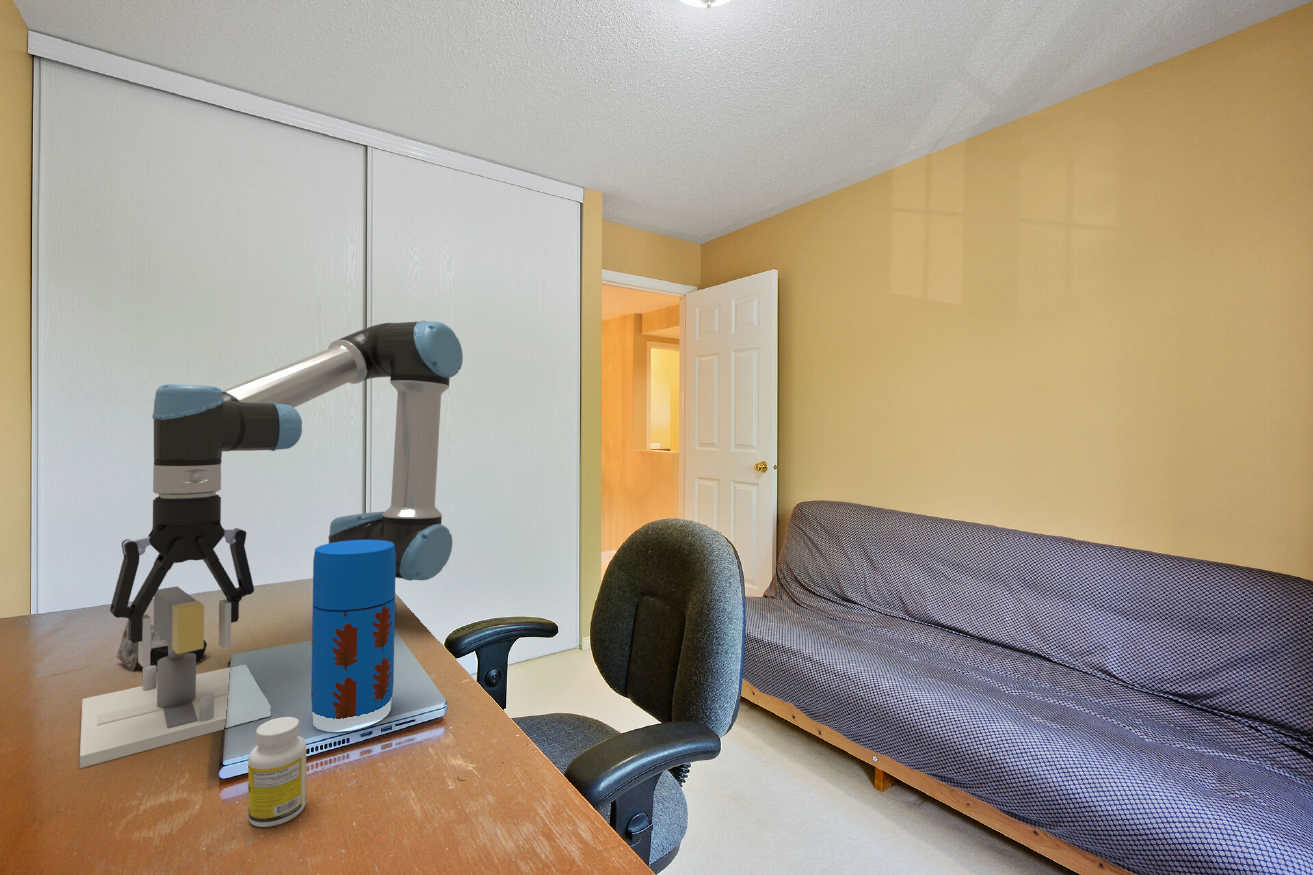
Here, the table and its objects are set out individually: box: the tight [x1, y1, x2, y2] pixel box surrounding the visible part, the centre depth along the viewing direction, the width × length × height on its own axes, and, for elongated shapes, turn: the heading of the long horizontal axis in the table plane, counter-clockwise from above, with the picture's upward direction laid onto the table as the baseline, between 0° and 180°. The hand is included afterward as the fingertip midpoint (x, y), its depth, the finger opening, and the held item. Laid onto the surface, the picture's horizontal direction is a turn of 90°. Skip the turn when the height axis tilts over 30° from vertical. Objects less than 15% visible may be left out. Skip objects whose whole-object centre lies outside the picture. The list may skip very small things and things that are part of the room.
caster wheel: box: [116, 620, 208, 673], centre depth 104 cm, size 7×11×10 cm
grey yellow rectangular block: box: [153, 586, 205, 659], centre depth 86 cm, size 14×3×9 cm, turn 51°
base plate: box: [79, 653, 230, 769], centre depth 86 cm, size 20×20×8 cm
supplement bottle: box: [247, 716, 307, 828], centre depth 65 cm, size 5×5×10 cm
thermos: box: [310, 540, 396, 719], centre depth 87 cm, size 11×11×25 cm
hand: (186, 654), depth 84 cm, fingers open, 8 cm apart
